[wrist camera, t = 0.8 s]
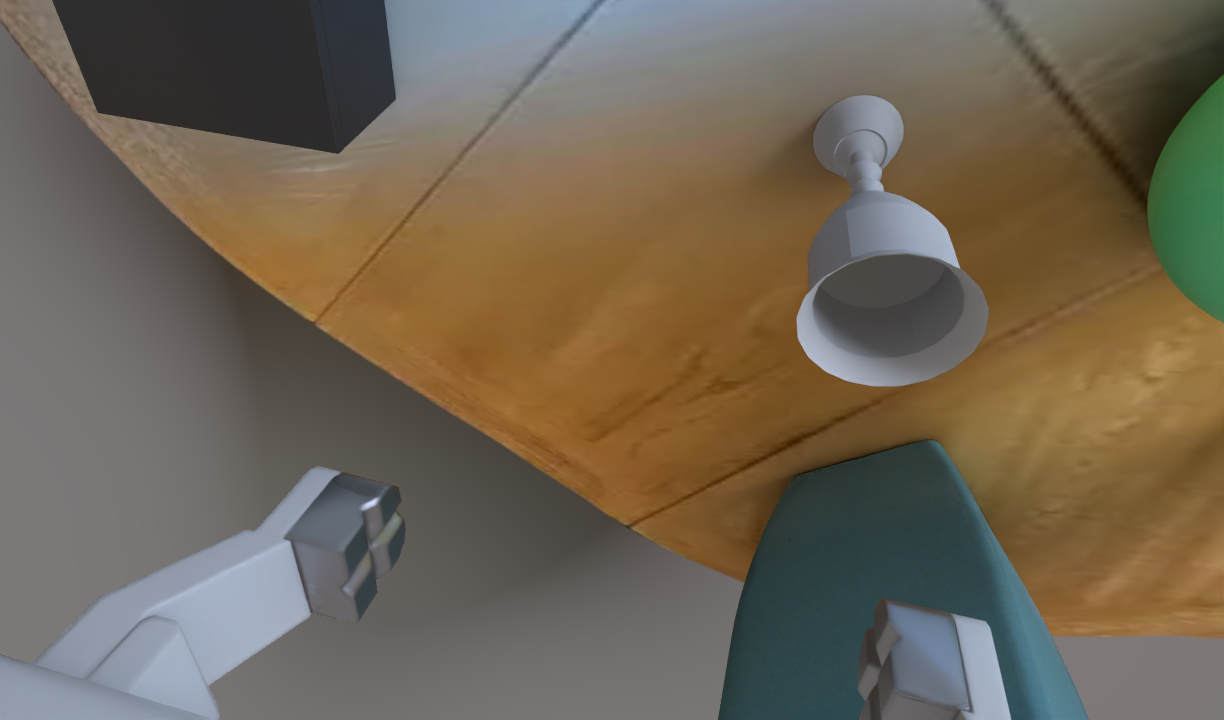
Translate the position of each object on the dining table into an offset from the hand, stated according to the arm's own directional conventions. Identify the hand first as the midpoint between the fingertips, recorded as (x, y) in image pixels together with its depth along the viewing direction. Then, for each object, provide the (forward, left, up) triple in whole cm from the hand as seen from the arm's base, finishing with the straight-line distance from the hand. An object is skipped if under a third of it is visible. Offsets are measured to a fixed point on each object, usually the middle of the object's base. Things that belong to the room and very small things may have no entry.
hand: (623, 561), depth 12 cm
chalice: (+7, +9, -36) cm, 38 cm away
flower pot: (+38, +21, -36) cm, 56 cm away
